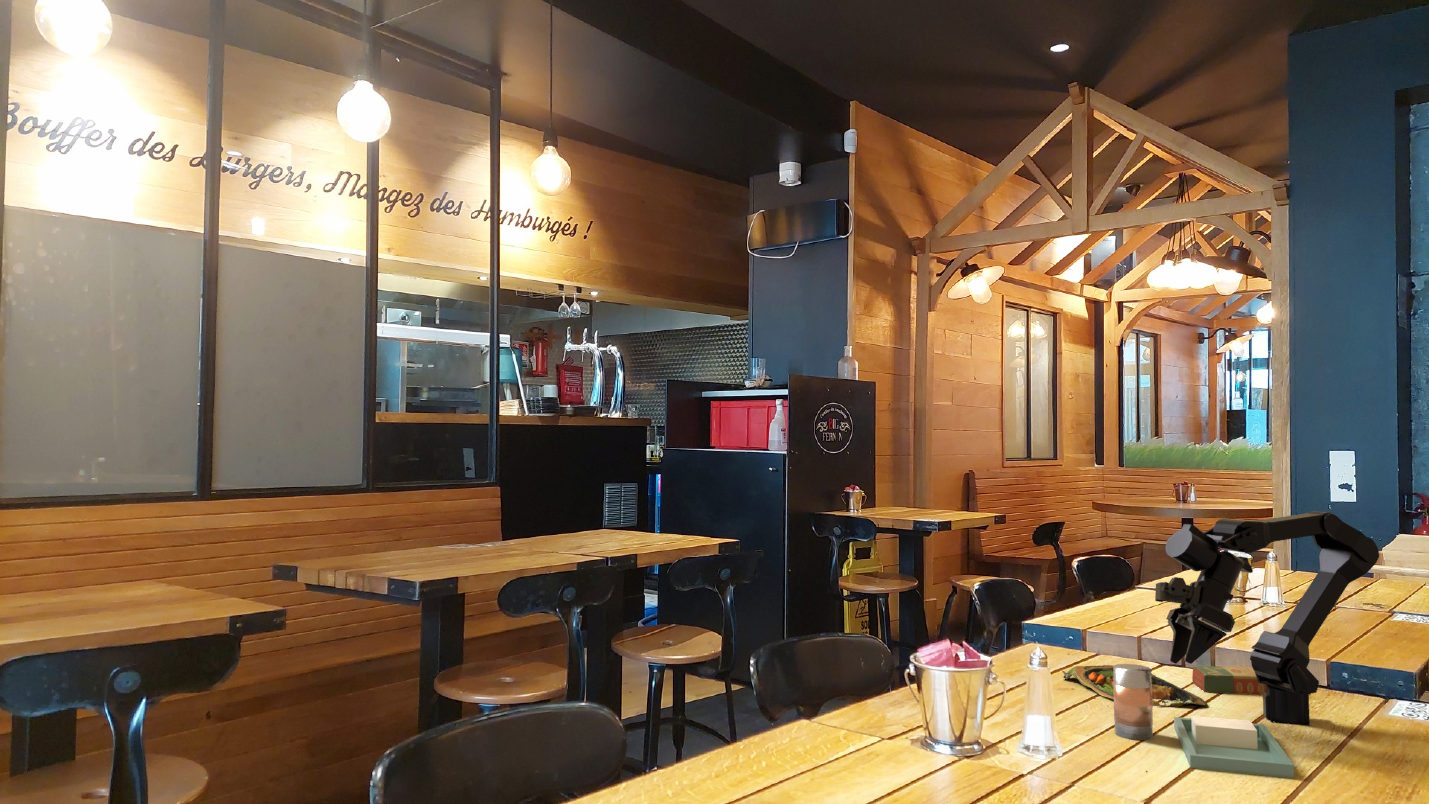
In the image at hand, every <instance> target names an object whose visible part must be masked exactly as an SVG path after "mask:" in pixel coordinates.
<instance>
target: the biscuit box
mask: <svg viewBox="0 0 1429 804" xmlns="http://www.w3.org/2000/svg"><path fill="white" fill-rule="evenodd" d="M1190 718H1191V720H1192V735H1193V737H1194V739H1195V741H1196V743H1197V744H1206V745H1217V746H1228V747H1239V748H1250V749H1258V744H1257V730H1256V728H1255V727H1254V725H1253V724H1254V723H1252V720H1246V719H1235V718H1233V719H1232V718H1222V717H1209V716H1199V715H1191V717H1190Z"/></svg>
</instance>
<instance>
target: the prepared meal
mask: <svg viewBox="0 0 1429 804" xmlns="http://www.w3.org/2000/svg"><path fill="white" fill-rule="evenodd" d="M1114 665H1115V664H1114ZM1114 665H1113V664H1111V665H1110V664H1107V665H1106V664H1104V665H1076V666H1073V667H1072V668H1070V669H1069V670H1068V671H1067V672H1066V671H1064V670H1061V672H1062V673H1063V674H1064V675H1063V678H1065V679H1067V680H1068V679H1070V678H1071V677H1074V678H1076V679H1077V680H1078V681H1079V683H1081V685H1083V686H1084V687H1088V688H1091V689H1092V690H1093V691H1094V692H1095V693H1097V695H1100V696H1102V697H1104V698H1108V699H1111V700H1113V701H1114V687H1113V682H1114V673H1113V666H1114ZM1151 683H1152V707H1156V708H1173V709H1176V708H1178V707H1182V706H1183V705H1188V704H1189V705H1190V704H1194V705H1200V706H1205V707H1206V708H1209V707H1210V706H1209V705H1208V703H1207V701H1205V700H1204V699H1203V698H1202V697H1199V696H1198V695H1196V694H1195V693H1192V692H1190V691H1188V690H1185V689H1183V688H1182V687H1179V686H1177V685H1175V684H1173V683H1172V682H1169V681H1167V680H1165V679H1163V678H1160V677H1159V676H1157V675H1156V674H1153V673H1151ZM1160 699H1161V701H1159V702H1158V701H1156V700H1160ZM1169 701H1170V702H1171V703H1170V704H1167V703H1169ZM1161 702H1162V703H1161ZM1160 703H1161V704H1160ZM1208 706H1209V707H1208Z"/></svg>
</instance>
